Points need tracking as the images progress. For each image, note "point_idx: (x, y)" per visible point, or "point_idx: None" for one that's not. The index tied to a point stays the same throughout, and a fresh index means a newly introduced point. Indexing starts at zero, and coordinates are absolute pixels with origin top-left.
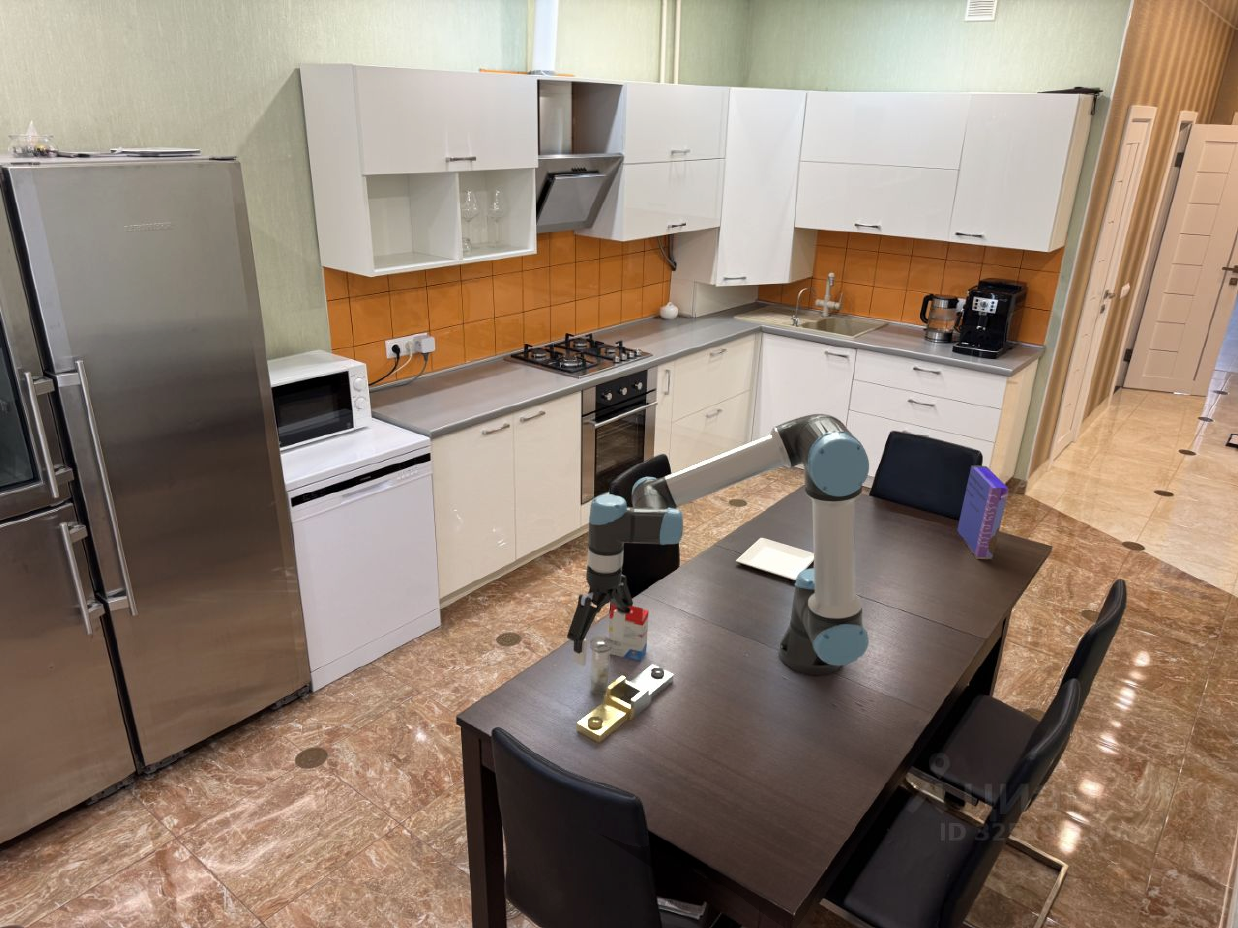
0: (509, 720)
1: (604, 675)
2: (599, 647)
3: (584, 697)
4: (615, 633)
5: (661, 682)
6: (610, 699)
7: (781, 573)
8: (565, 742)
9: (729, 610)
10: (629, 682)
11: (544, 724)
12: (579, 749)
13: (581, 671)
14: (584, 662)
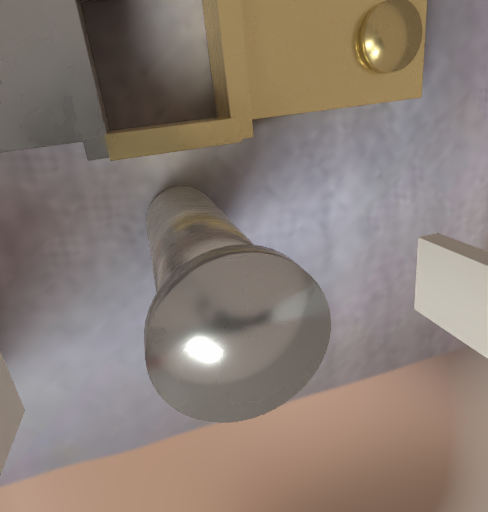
0: None
1: (207, 207)
2: (301, 299)
3: (253, 222)
4: (5, 405)
5: None
6: (247, 96)
7: None
8: (460, 80)
9: None
10: (84, 121)
11: (432, 197)
12: (462, 13)
13: None
14: (448, 241)
